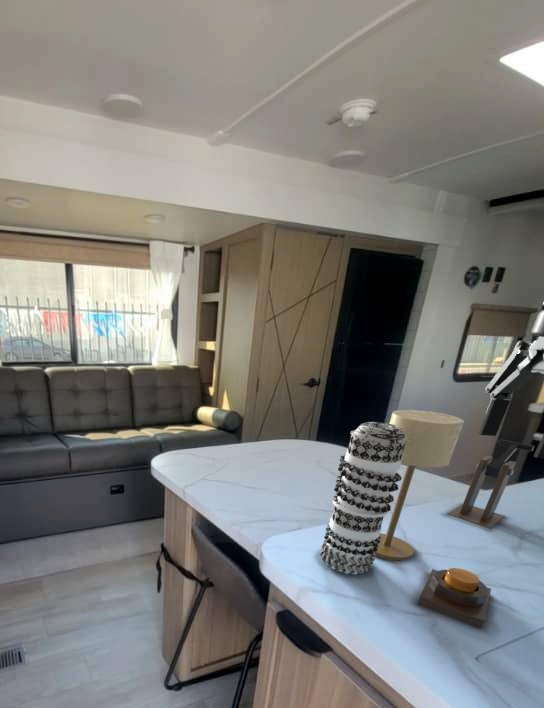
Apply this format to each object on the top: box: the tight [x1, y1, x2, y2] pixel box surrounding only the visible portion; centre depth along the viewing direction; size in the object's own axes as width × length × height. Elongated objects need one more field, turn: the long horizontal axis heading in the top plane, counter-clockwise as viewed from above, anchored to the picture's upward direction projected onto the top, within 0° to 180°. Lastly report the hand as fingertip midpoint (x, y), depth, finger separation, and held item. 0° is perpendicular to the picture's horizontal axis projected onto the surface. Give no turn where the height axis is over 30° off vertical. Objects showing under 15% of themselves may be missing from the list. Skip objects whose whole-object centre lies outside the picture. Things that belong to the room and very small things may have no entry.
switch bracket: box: [446, 455, 517, 529], centre depth 87 cm, size 10×8×14 cm
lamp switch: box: [485, 439, 535, 479], centre depth 86 cm, size 12×6×2 cm, turn 126°
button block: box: [416, 568, 492, 630], centre depth 62 cm, size 10×8×4 cm
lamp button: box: [444, 567, 481, 592], centre depth 61 cm, size 4×4×2 cm
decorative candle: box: [319, 421, 409, 575], centre depth 66 cm, size 9×9×25 cm
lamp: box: [374, 409, 465, 562], centre depth 71 cm, size 10×10×26 cm
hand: (512, 445), depth 70 cm, fingers open, 13 cm apart
